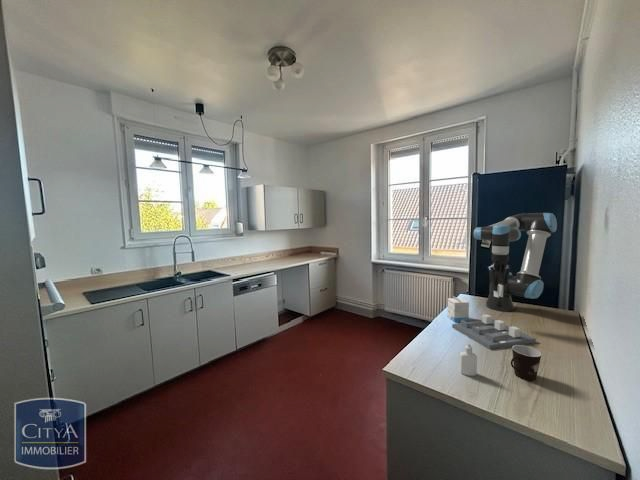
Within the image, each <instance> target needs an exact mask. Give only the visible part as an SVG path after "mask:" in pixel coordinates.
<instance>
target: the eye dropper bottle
mask: <svg viewBox="0 0 640 480" xmlns="http://www.w3.org/2000/svg"><path fill="white" fill-rule="evenodd" d="M477 366H478V357H477V354H476V353H473V347H472V346H471V343H470V342H469V343H467V345H465V346H464V351H462V352H460V353H459V373H460V374H461V375H464V376H469V377H473V376H476V375H477V371H478V370H477V368H478V367H477Z"/></svg>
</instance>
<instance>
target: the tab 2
mask: <svg viewBox="0 0 640 480" xmlns="http://www.w3.org/2000/svg"><path fill="white" fill-rule="evenodd" d="M505 325H506V322H505V321H503V320H501V319H498V320H496V319H495V327H494V328H495V329H497V330H499V331H500V330H505Z"/></svg>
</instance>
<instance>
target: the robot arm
mask: <svg viewBox="0 0 640 480" xmlns="http://www.w3.org/2000/svg"><path fill="white" fill-rule="evenodd" d="M557 228H558V222H557V218H556V216H555V214H554V213H550V212H533V213H532V212H527V213H525V212H522V213H518V214H514V215H510V216H508V217H506V218H505V219H503V220H502V221H499V222H497V223H493V224H491V225H488V226H483V227H482V226H480V227H478V226H477V227H475V228H474V230H473V238H474V240H475V239H476V240H478V241H479V240H480V241H491V245H492V246H491V261H492V263H491V265H490V266H487V269H488V276H489V294H488V297H487V300H486V301H485V306H486V308H489V309H492V310H494V311H495V310H496V311H498V312H499V311H500V312H513V311H514V310H515V305H514V303H513V300H512V295H513V296H516V297H523V298H526V299H533V300H534V299H538V298H539V297H540V296H541V294H542V293H543V291H544V286H545V285H544V282H543V280H542V277H541V276H540V275H539V273H540V268H541V265H542V260H543V256H544V252H545V251H544V250H545V247H546V242H547V239H548V238H549V237H551V236H552V233H555V232H557ZM522 232H526V235H528V238H527V241H526V247H525V249H524V250H525V251H524V255H523V259H522V264H521V267H520V271H519V272H517V273H516V274H515V275H516V276H515V275H513V273H512V272H511V269H512V266H511V265H508V262H509V258H510V256H509V253H510V243H511V242H516V241H518V240H520V239H521V236H522Z"/></svg>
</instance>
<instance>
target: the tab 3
mask: <svg viewBox="0 0 640 480" xmlns="http://www.w3.org/2000/svg"><path fill="white" fill-rule="evenodd" d="M520 332H521V328H519V327H516V326H509V335H510V336H512V337H514V338H516V337H520Z"/></svg>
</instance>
